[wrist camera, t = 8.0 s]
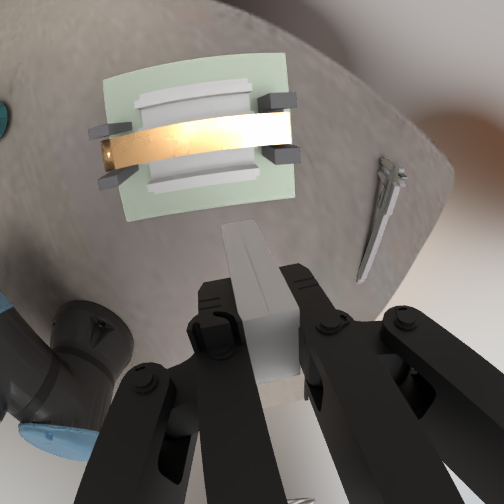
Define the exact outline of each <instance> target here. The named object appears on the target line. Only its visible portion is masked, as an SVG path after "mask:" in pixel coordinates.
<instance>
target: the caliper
mask: <svg viewBox="0 0 504 504" xmlns="http://www.w3.org/2000/svg"><path fill="white" fill-rule="evenodd" d="M379 161H380V162H381V163H382V164H383V165H384V166H385V167H386V168H387V169H388V170H389V171H390V174H389V175H388V174H387V173H386V172H384V171H383V170H378V171H377V174H378V176H379V177H380V179H381V181H382V183H383V185H384V190H383V191H382V193H381V194H380V198H379V201H378V204H377V206H378V207H379V212H378V215H377V218H376V222H375V225H374V228H373V231H372V234H371V237H370V240H369V243H368V246H367V249H366V251H365V254H364V257H363V260H362V262H361V265H360V268H359V272H358V278H357V281H356V284H359V283H362V282H363V280H366V277H367V275H368V273H369V270H370V268H371V265H372V263H373V260H374V257H375V255H376V252H377V249H378V247H379V244H380V241H381V238H382V236H383V233H384V230H385V227H386V224H387V221H388V218H389V215H392V212H393V209H394V206H395V203H396V200H397V197H398V194H399V191H400V187H406V185H405V182H404V180H403V179H408V177H407V176H406V175H404V171H405V169H403V168H402V167H401V166H400V165H399V164H398V163H397V162H394V161H391V160H388V159H383V158H380V159H379Z"/></svg>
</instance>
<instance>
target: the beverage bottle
mask: <svg viewBox="0 0 504 504" xmlns="http://www.w3.org/2000/svg"><path fill="white" fill-rule="evenodd" d="M6 125H7V110H6V107H5V105H4V104H3V103H2V102H0V138H1V136H2V135H3V133H4V131H5V128H6Z"/></svg>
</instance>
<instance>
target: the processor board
mask: <svg viewBox="0 0 504 504" xmlns="http://www.w3.org/2000/svg"><path fill="white" fill-rule="evenodd" d="M103 91H104V101H105V110H106V118H107V124H105V125H102V126H98V127H95V128H92V129H89V130H88V132H89V139H90V140H92V139H97V138H101V137H105V136H109V139H111V138H115V137H119V136H123V135H127V134H131V133H135V132H140V131H144V130H149V129H153V128H158V127H163V126H168V125H174V124H179V123H185V122H192V121H198V120H205V119H212V118H220V117H229V116H239V115H250V114H263V113H281V112H289V119H290V133H291V143H289V144H274V145H262V146H252V147H242V148H233V149H225V150H217V151H210V152H203V153H196V154H190V155H184V156H178V157H172V158H167V159H161V160H156V161H151V162H146V163H142V164H137V165H132V166H128V167H124V168H119V169H115V170H113V171H111V172H109V173H108V174H106V175H105V176H103V177H101V178H100V179H98V180H97V181H98V185H99V190H104V189H108V188H112V187H116V186H118V187H119V191H120V196H121V200H122V205H123V209H124V213H125V217H126V221H127V222H131V221H136V220H141V219H147V218H153V217H158V216H164V215H170V214H176V213H183V212H189V211H195V210H202V209H209V208H216V207H223V206H230V205H237V204H245V203H253V202H261V201H269V200H278V199H286V198H295V184H294V164H295V163H301V160H300V147H297V146H294V145H292V129H291V115H290V108H297V97H296V92H289V90H288V79H287V68H286V58H285V53H250V54H234V55H222V56H213V57H204V58H197V59H190V60H184V61H178V62H172V63H167V64H162V65H157V66H153V67H148V68H144V69H140V70H136V71H132V72H128V73H124V74H121V75H117V76H114V77H111V78H107V79H104V80H103Z"/></svg>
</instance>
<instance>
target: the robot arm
mask: <svg viewBox="0 0 504 504" xmlns="http://www.w3.org/2000/svg"><path fill="white" fill-rule="evenodd" d="M221 230H222V235H223V241H224V246H225V252H226V257H227V263H228V268H229V273H230V278H226V279H220V280H215V281H210V282H204V283H203V284H202V286H201V288H200V289H199V291H198V310H199V311H198V315H196V316H195V317H194V318H193V319H192V320H191V321H190V322H189V323H188V327H187V330H186V331H187V334H188V336H189V339H190V342H191V344H192V347H193V350H194V352H195V353H194V354H193V355H192V356H191V357H190V358H189V359H188V360H186V361H185V362H183V363H181V364H179V365H176V366H174V367H171V368H169V369H166V368H164V367H163V366H162V365H161V364H157V363H153V362H150V363H142V364H139V365H137V366H134V367H133V368H132V369H130V370H129V371H128V372H127V373H126V374H125V376H124V377H123V379H122V381H121V383H120V385H119V387H118V390H117V392H116V394H115V396H114V399H113V401H112V403H111V399H112V394H113V389H114V385H115V382H116V380H117V379H118V377H119V376H120V374H121V373H122V371H123V370H124V368H125V367H126V366H127V365H128V364H129V362H130V360H131V357H132V352H133V348H134V342H133V338H132V335H131V333H130V331H129V329H128V328H127V326H126V325H125V324H124V322H123V321H122V320H121V319H120V318H119V317H118V316H116V315H115V314H114V313H112V312H111V311H109V310H108V309H106V308H104V307H102V306H100V305H97V304H94V303H91V302H86V301H73V302H69V303H67V304H65V305H63V306H62V307H61V308H60V309H59V311H58V313H57V314H56V316H55V318H54V320H53V324H52V335H51V342H50V347H49V346H48V345H47V344H46V343H45V342H44V341H43V340H42V339H41V338H40V337H39V336H38V335H37V334H36V333H35V331H34V330H33V329H32V328H31V327H30V326H29V325H28V324H27V322H26V321H25V320H24V319H23V318H22V316H21V315H20V314H19V313H18V312H17V310H16V309H15V308H14V304H13V303H10V302H9V301H8V299H7V298H6V297H5V296H4V295H3V293H2V292H1V291H0V423H1V422H2V420H3V418H4V416H5V414H6V412H9V413H10V414H11V415H13V416H14V417H15V418H16V419H17V420H19V421H20V424H19V425H18V428H19V434H20V435H21V437H23V438H24V439H25V440H26V441H27V442H29V443H30V444H32V445H33V446H35V447H37V448H39V449H41V450H44V451H46V452H49V453H51V454H54V455H56V456H59V457H63V458H67V459H71V460H77V461H88V463H87V466H86V469H85V472H84V474H83V477H82V480H81V483H80V486H79V488H78V491H77V494H76V497H75V501H74V504H184V502H185V496H186V491H187V486H188V481H189V476H190V471H191V466H192V461H193V456H194V451H195V445H196V441H197V436H198V432H199V431H200V441H201V452H202V463H203V472H204V481H205V489H206V496H207V504H288V503H287V499H286V496H285V492H284V488H283V485H282V481H281V478H280V474H279V470H278V467H277V463H276V459H275V456H274V452H273V448H272V444H271V441H270V436H269V433H268V429H267V425H266V421H265V417H264V413H263V409H262V405H261V401H260V397H259V393H258V389H257V385H256V384H260V383H265V382H270V381H274V380H278V379H283V378H287V377H291V376H295V375H299V374H300V365H301V368H302V370H303V373H304V375H305V385H304V398H305V400H308V396H309V399H310V401H311V404H312V406H313V409H314V412H315V415H316V417H317V420H318V422H319V425H320V428H321V430H322V433H323V435H324V438H325V441H326V443H327V446H328V448H329V451H330V454H331V456H332V459H333V461H334V464H335V467H336V469H337V472H338V475H339V477H340V480H341V483H342V485H343V488H344V490H345V493H346V496H347V498H348V501H349V504H465V503H464V501H463V499H462V497H461V495H460V493H459V491H458V490H457V488H456V486H455V484H454V482H453V480H452V478H451V476H450V474H449V473H448V471H447V469H446V467H445V465H444V463H445V464H446V465H447V466H448V467H449V468H450V469H451V470H452V471H453V472H454V473H455V474H456V475H457V476H458V477H459V478H460V479H461V480H462V481H463V482H464V483H465V484H466V485H467V486H468V487H469V488H470V489H471V490H472V491H473V492H474V493H475V494H476V495H477V496H478V497H479V498H480V499H481V500H482V501H483V502H484V503H485V504H504V374H503V373H502V372H500V371H499V370H498V369H497V368H496V367H494V366H493V365H492V364H490V363H489V362H488V361H487V360H485V359H484V358H483V357H482V356H480V355H479V354H478V353H476V352H475V351H474V350H472V349H471V348H470V347H469V346H467V345H466V344H465V343H463V342H462V341H460V340H459V339H458V338H456V337H455V336H454V335H452V334H451V333H450V332H448V331H447V330H446V329H444V328H443V327H442V326H440V325H439V324H438V323H436V322H435V321H433V320H432V319H431V318H429V317H428V316H426V315H425V314H424V313H422V312H421V311H419V310H417V309H415V308H413V307H409V306H405V305H404V306H395V307H392V308H390V309H388V310H387V311H386V312H385V314H384V317H383V320H382V321H368V322H361V321H354V320H353V318H352V317H351V316H350V315H349V314H347V313H345V312H343V311H341V310H336V309H335V308H334V306H333V305H332V303H331V301H330V300H329V298H328V297H327V295H326V294H325V292H324V291H323V289H322V288H321V287H320V285H319V284H318V282H317V281H316V279H314V276H313V275H312V273H311V272H310V270H309V269H308V268H306V267H304V266H303V265H301V264H299V263H297V264H292V265H287V266H282V267H278V265H277V263H276V261H275V259H274V258H273V256H272V254H271V252H270V250H269V248H268V246H267V244H266V242H265V240H264V238H263V236H262V234H261V232H260V230H259V229H258V227H257V225H256V223H255V221H254V219H251V220H245V221H240V222H234V223H228V224H223V225H221ZM110 405H111V406H110ZM442 461H443V462H444V463H443V462H442Z"/></svg>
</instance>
